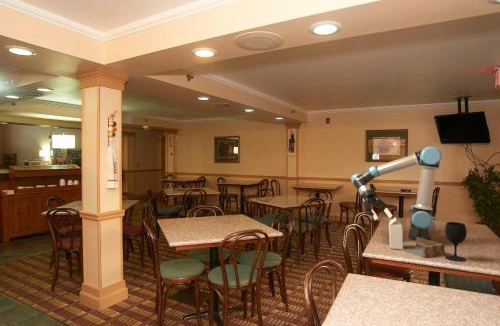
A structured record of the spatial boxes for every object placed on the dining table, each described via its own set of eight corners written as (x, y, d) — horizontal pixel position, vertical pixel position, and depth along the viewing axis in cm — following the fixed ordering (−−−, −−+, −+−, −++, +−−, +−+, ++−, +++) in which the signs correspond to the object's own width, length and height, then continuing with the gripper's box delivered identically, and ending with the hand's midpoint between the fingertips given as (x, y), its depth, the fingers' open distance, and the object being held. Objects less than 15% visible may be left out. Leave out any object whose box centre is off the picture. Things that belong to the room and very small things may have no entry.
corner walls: (417, 246, 210) (417, 237, 210) (444, 254, 193) (444, 244, 193) (398, 249, 204) (398, 239, 203) (425, 257, 186) (425, 247, 186)
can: (436, 234, 240) (436, 218, 240) (419, 233, 244) (419, 217, 243) (434, 231, 250) (434, 216, 250) (417, 230, 254) (417, 215, 254)
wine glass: (466, 262, 177) (466, 226, 177) (444, 259, 183) (444, 224, 183) (466, 257, 186) (466, 222, 186) (445, 254, 192) (445, 221, 191)
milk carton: (401, 246, 209) (400, 217, 209) (402, 249, 202) (402, 218, 202) (389, 246, 211) (388, 216, 211) (390, 248, 204) (389, 218, 205)
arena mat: (417, 247, 209) (417, 246, 209) (440, 253, 194) (440, 253, 194) (400, 249, 203) (400, 249, 203) (423, 257, 188) (423, 256, 188)
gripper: (375, 195, 235) (393, 219, 222) (350, 197, 223) (367, 223, 210) (381, 188, 230) (400, 212, 217) (355, 190, 219) (373, 216, 206)
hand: (384, 218), depth 214 cm, fingers open, 13 cm apart
